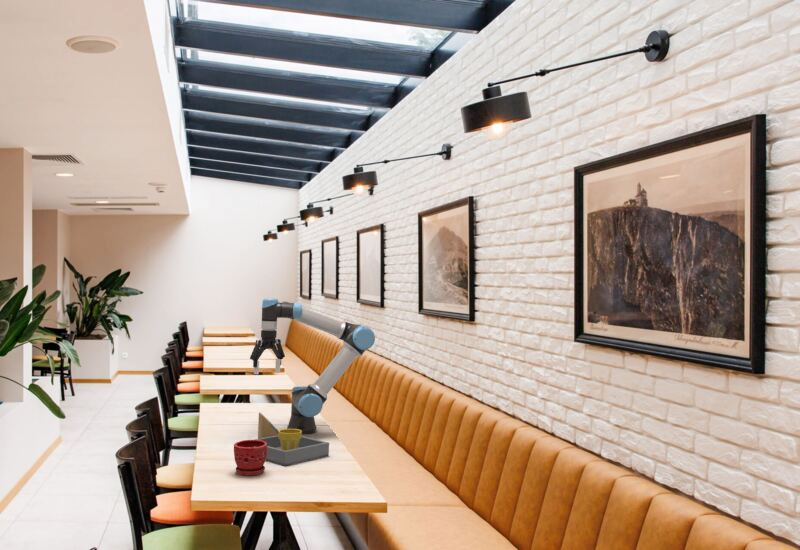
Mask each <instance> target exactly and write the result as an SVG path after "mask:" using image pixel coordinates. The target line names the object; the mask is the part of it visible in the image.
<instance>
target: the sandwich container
mask: <svg viewBox="0 0 800 550" xmlns="http://www.w3.org/2000/svg"><path fill="white" fill-rule="evenodd" d="M257 422H258V423H257V425H258V427H257V428H258V429H257V439H260V438H266V437H271V436H276V435H278V431H279V429H278V428H277V427H276V426H275V425H273V423H272V422H271V421H270V420H269V419H268V418H267V417H266V416H265V415H264V414H263V413H261V412H258V421H257Z"/></svg>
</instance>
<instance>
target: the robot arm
mask: <svg viewBox="0 0 800 550" xmlns="http://www.w3.org/2000/svg"><path fill="white" fill-rule="evenodd" d="M302 305H303V304H301V303H298V302H289V301H281V302H279V299H278V298H275V297H274V298H272V297H265V298H263V299H262V306H261V325H260V326H261V327H260V329H261V330H260V337H261V339H256V340H255V344H254V348H253V350H252V352H251V354H250V356H249V359H250V360H251V361H253V362H252V367H253V374H254V375H259V373H260V361H259V359H260V358H261V356H262V355H263V353H264V352H265V350H269V349H271V351H272V352H273V353H274V355H275V357H276V358H275V373H281V366H282V360H284V358H286V355H285V352H284V349H283V346H282V341H281V339H279V338H277V334H278V333H277V329H278V319H281V318H282V319H290V320H293V321H296V322H298V323H300V324H303V325H306V326H309V327H312V328H314V329H317V330H320V331H323V332H325V333H328V334H330V335H333V336H335V337H336V338H337V339H338V340H341V341H343V347H341V349H340V350H339V351H338V353H337V354H336V355H335V356H334V357H333V359H331V361H330V363H329V364H328V365H327V367H326V368H325V369H324V370H323V371H322V373H321V374H320V375H319V376H318V377H317V379H316V380H315V381H314V383H311V384H308V385H307V386H293V387H292V389H291V390H292V391H291V410H290V411H291V412H290V413H291V414H290V417H289V420H288V424H287V426H286V429H298V430H301V431H302V435H305V434H306V435H307V434H308V435H309V434H314V433H317V425H316V421H315V417H317V416H318V415H319V414H320V413H321V412H322V409H323V406H324V404H325V403H326V401H327V400H328V394H329V392H331V390H332V389H333V388H334V386H335V385H336V384H337V382H339V380H340V379H341V377H342V376H343V375H344V374H345V372H347V370H348V369H349V367H350V366H351V365H352V364H353V362H354V361H355V360H356V359H357V357H362V355H363V354H364V353H366V351H367V350H369V349H371V348H372V347H373V346H374V344H375V340H376V336H375V333H374V331H373V329H371V328H370V327H369V326H367V325H361V324H357V323H352V322H347V321H345V320H344V321H339V320H337V319H334V318H331V317H329V316H326V315H323V314H320V313H318V312H315V311H313V310H309V309H307V308H305V307H303V306H302Z"/></svg>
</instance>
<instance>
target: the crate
mask: <svg viewBox="0 0 800 550" xmlns="http://www.w3.org/2000/svg"><path fill="white" fill-rule="evenodd" d="M254 440H261V441H265V442H266V443H267V456H266V461H265V462H268V461H269V463H271V462H272V464H274V465H275V464H276V465H278V466H283V467H289V466H291V465H297V464H300V463H304V462H309V461H315V460H318V458H319V459H323V458H327V457H329V455H330V453H329V452H330V442H328V441H325V440H324V441H323V440H320V439H316V438H311V437H307V436H303V435H302V438H301V439H300V442H299V446H298V448H296V449H292V450H287V451H285V450H281V444H280V439H279V438H278V435H276V436H271V437H266V438H260V439H258V438H254ZM254 447H256V446H254ZM249 448H250V447H249ZM259 456H260V455H259ZM263 456H264V452H263ZM322 457H323V458H322Z"/></svg>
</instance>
